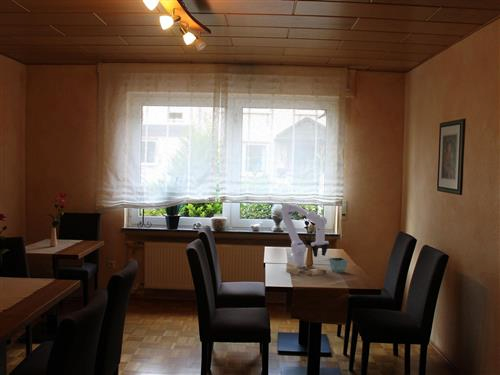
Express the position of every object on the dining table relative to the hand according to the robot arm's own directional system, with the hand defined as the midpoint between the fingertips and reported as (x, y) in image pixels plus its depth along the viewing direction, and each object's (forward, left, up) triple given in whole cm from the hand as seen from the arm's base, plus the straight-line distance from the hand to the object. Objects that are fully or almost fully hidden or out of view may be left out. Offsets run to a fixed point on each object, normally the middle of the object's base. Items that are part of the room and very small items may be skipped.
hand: (319, 256), depth 312 cm
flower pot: (+10, +7, -10) cm, 16 cm away
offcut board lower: (+6, -11, -9) cm, 16 cm away
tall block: (-2, -22, -9) cm, 24 cm away
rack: (+3, -11, -10) cm, 15 cm away
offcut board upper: (+7, -11, -8) cm, 15 cm away
